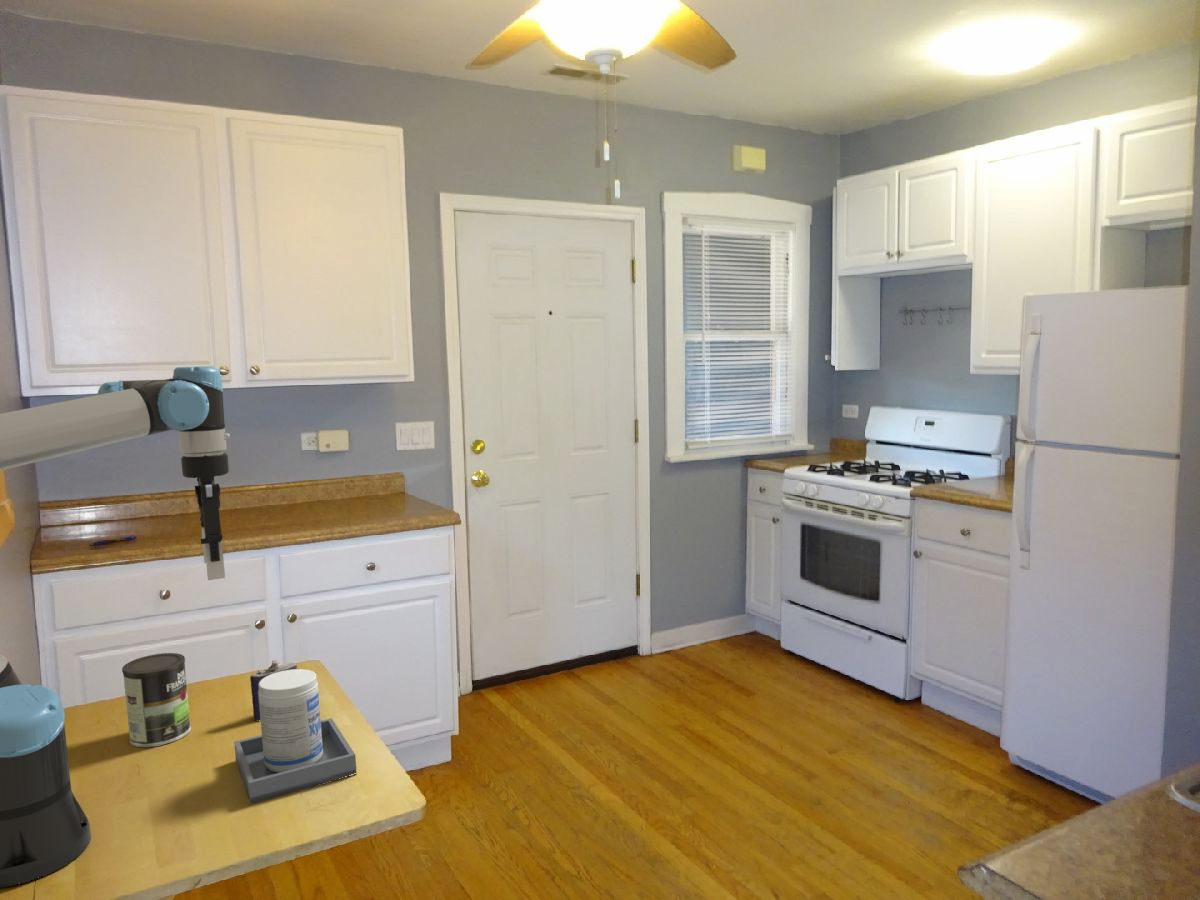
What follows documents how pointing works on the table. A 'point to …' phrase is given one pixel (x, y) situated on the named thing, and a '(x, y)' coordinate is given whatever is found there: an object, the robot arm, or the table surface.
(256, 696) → the flask
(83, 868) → the table surface
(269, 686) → the supplement tub
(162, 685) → the coffee can
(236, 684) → the table surface
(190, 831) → the table surface
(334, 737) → the tray
